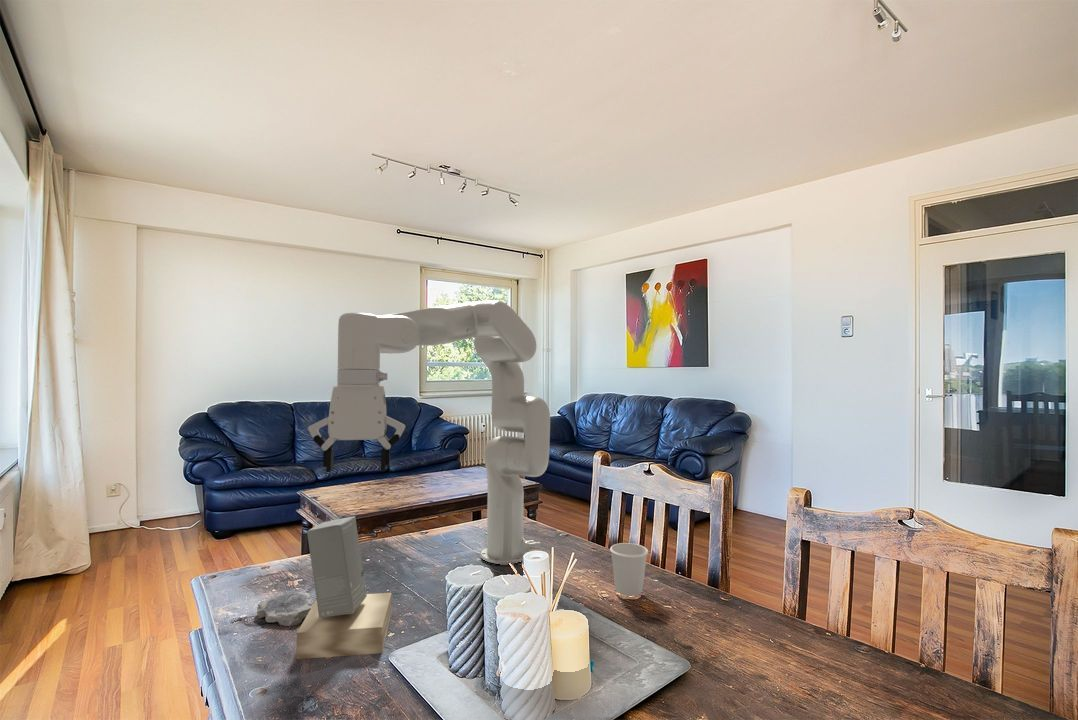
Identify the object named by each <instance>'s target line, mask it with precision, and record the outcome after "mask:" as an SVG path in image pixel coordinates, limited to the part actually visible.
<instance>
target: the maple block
mask: <svg viewBox="0 0 1078 720" xmlns="http://www.w3.org/2000/svg"><path fill="white" fill-rule="evenodd" d="M392 594H393V593H392V592H383V593H380V592H379V593H366V595H367V597H366V598H365V599H364V601H363V602H362V603H361V604H360V605H359V606H358V608H357V609H356V610H355V612H354V613H353V614H344V615H336V616H330V617H324V618H319V614H318V606H317V599H316V598H315V601H314V604H313V606H312V608H311V609H310V611H309V613H308V615H306V616H305V617H304V620H302V622H301V623H302V624H301V625H300V627H299V628H298V629H297V632H296V655H295V656H296V658H295V659H296V660H302V659H303V660H305V659H306V658H307V659H319V658H330V657H331V658H332V657H334V658H335V657H344V656H345V657H347V656H360V655H371V654H383V650H384V648H385V647H384V646H385V642H386V637H387V633H388V629H389V626H390V621H391V617H392V599H393V598H392Z"/></svg>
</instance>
